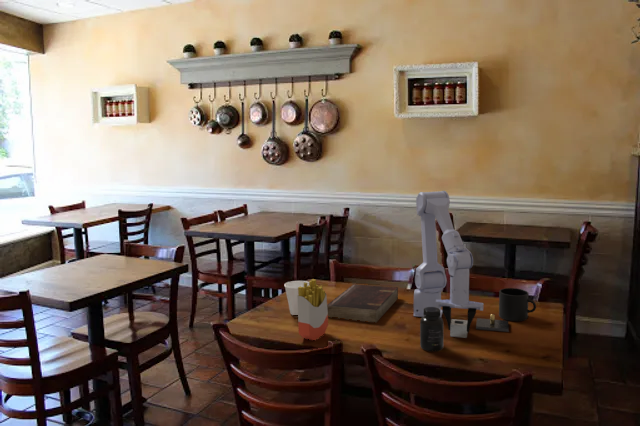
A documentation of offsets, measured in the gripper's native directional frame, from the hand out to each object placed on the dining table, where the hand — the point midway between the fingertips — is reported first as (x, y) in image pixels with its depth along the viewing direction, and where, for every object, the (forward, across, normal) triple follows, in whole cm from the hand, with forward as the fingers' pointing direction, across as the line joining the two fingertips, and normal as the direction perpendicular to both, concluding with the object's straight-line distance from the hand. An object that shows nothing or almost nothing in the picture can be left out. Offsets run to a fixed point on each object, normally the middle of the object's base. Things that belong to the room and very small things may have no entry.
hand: (459, 330), depth 167 cm
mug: (+2, +18, +21) cm, 28 cm away
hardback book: (+2, -36, +19) cm, 41 cm away
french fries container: (+2, -44, -14) cm, 46 cm away
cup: (+2, -57, +6) cm, 57 cm away
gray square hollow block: (+1, 0, 0) cm, 1 cm away
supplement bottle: (+2, -7, -13) cm, 15 cm away
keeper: (+1, +10, +10) cm, 14 cm away
